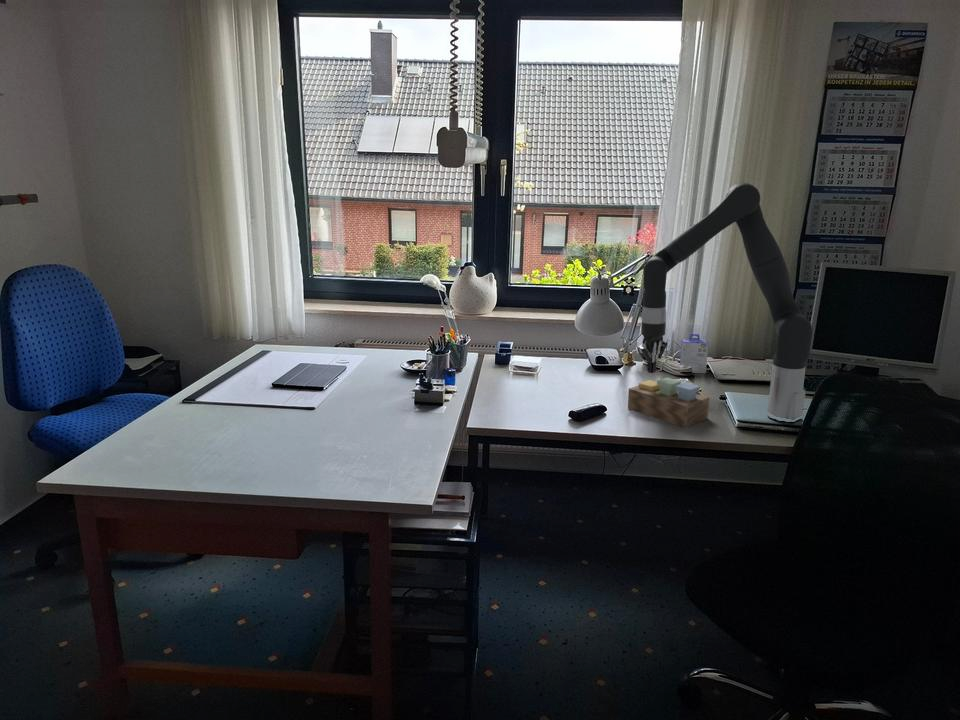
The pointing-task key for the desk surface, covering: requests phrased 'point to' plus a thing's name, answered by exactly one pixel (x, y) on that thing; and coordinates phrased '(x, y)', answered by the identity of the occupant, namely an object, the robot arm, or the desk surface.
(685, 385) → the button slate
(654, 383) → the button ochre
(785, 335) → the robot arm
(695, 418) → the control box
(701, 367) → the ink cartridge box
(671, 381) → the button sage
